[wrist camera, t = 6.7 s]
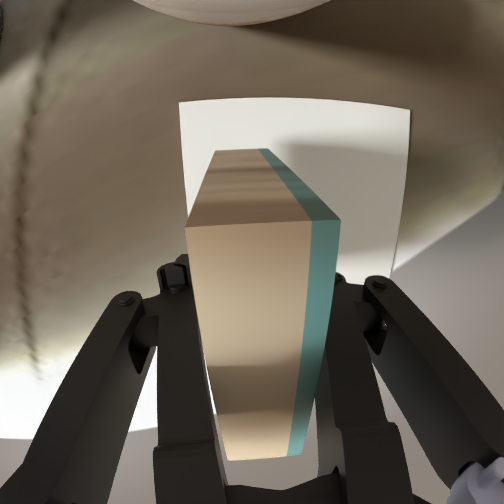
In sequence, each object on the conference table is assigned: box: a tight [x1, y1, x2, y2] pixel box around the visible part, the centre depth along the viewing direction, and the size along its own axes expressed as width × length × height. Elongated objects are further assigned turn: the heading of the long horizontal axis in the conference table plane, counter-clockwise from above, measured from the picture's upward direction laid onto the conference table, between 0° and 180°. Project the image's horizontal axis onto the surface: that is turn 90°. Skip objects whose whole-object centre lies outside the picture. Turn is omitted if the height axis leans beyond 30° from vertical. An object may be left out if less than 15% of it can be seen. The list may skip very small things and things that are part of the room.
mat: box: [179, 98, 410, 284], centre depth 23 cm, size 16×18×1 cm
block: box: [185, 148, 341, 460], centre depth 13 cm, size 10×3×12 cm, turn 2°
